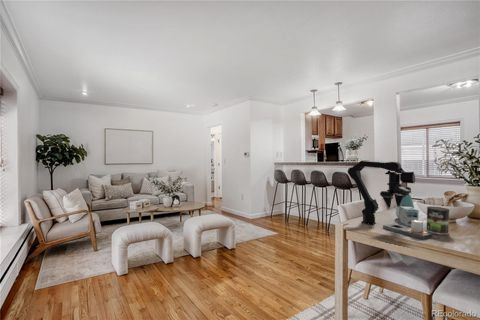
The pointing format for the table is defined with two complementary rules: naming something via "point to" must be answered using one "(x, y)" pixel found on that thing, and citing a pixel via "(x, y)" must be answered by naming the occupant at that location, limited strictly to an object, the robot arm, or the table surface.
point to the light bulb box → (408, 215)
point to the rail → (407, 231)
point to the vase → (404, 204)
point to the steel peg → (417, 226)
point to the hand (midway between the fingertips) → (393, 207)
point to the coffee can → (438, 220)
